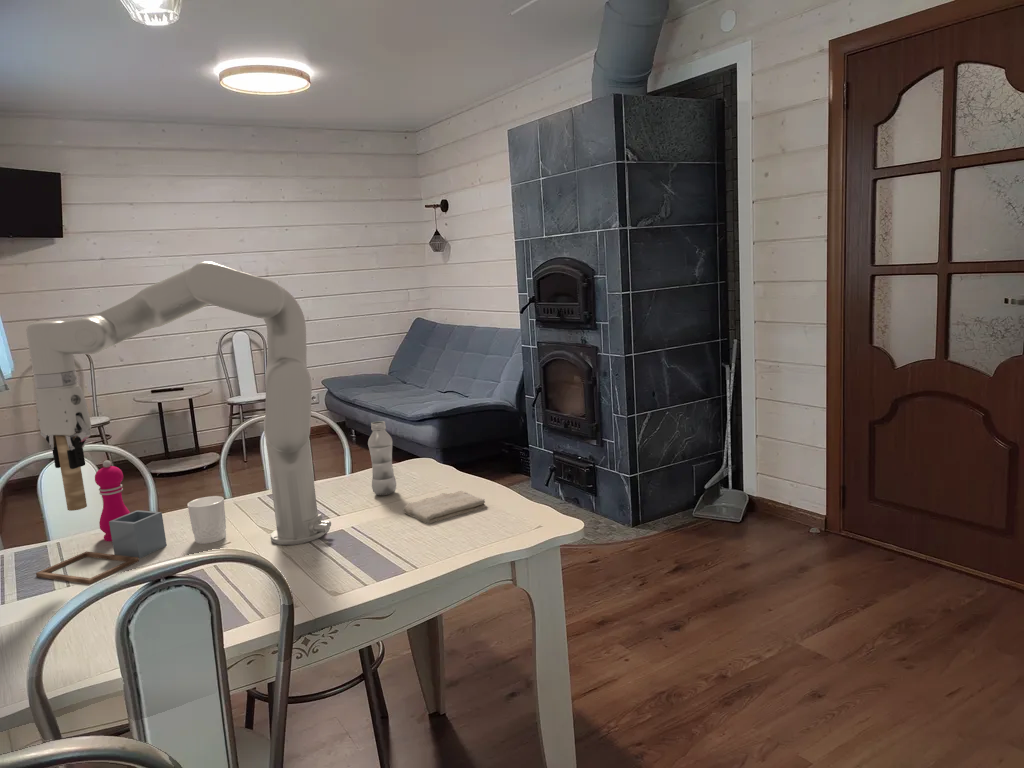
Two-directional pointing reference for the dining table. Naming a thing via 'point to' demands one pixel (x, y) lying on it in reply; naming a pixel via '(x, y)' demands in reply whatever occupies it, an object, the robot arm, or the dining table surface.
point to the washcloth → (443, 506)
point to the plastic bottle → (381, 460)
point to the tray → (47, 574)
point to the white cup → (207, 519)
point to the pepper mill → (110, 496)
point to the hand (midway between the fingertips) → (70, 465)
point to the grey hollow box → (138, 533)
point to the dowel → (70, 478)
